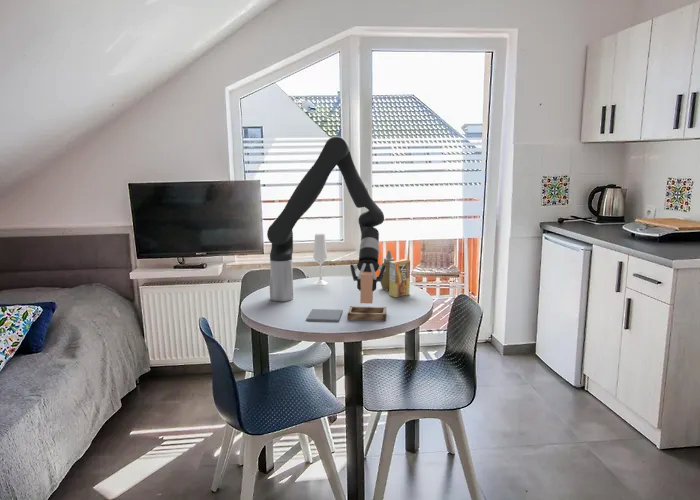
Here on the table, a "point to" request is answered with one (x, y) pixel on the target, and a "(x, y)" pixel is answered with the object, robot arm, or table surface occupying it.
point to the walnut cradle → (367, 313)
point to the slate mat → (324, 315)
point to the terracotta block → (366, 287)
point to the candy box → (399, 278)
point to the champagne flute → (320, 254)
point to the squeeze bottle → (386, 277)
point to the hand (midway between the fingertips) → (366, 289)
